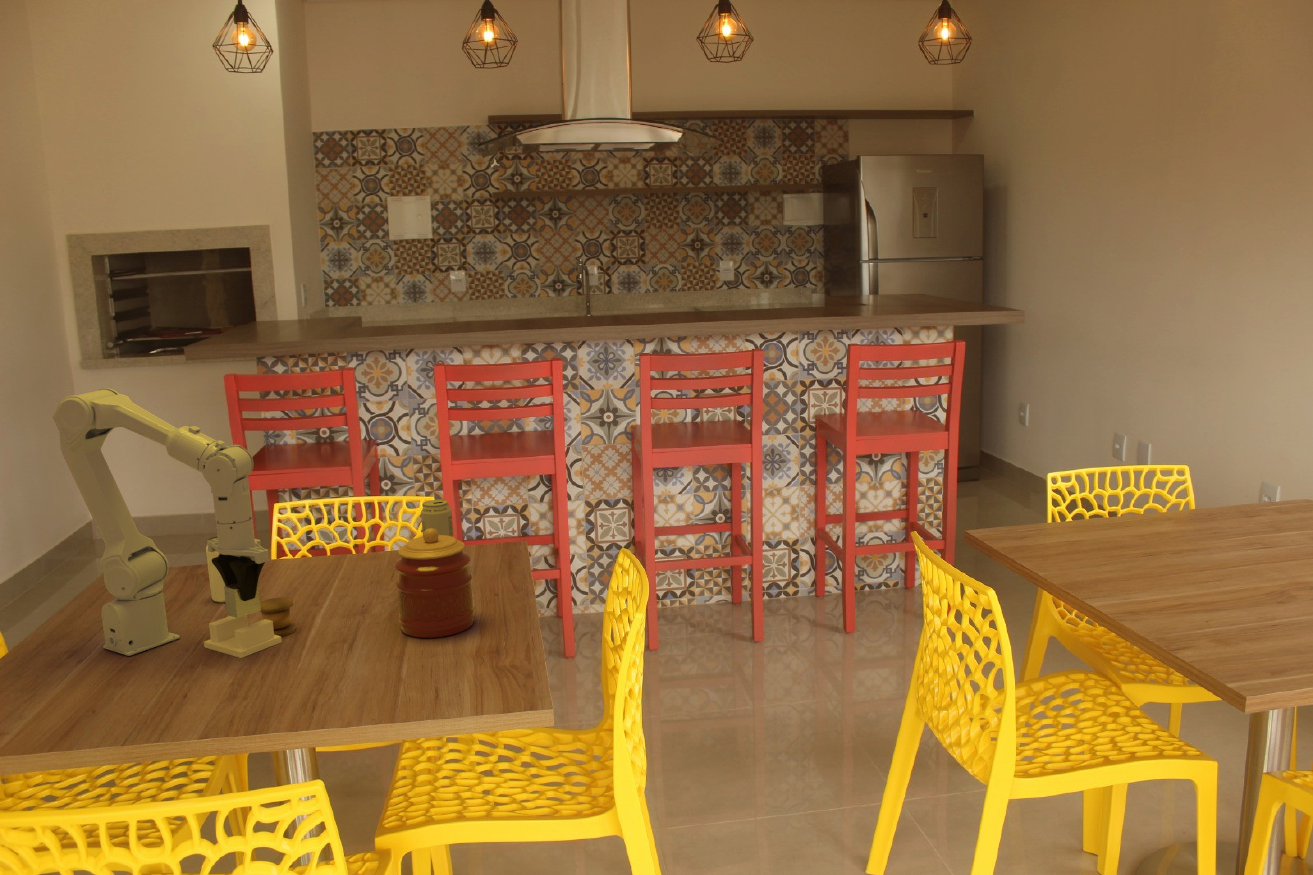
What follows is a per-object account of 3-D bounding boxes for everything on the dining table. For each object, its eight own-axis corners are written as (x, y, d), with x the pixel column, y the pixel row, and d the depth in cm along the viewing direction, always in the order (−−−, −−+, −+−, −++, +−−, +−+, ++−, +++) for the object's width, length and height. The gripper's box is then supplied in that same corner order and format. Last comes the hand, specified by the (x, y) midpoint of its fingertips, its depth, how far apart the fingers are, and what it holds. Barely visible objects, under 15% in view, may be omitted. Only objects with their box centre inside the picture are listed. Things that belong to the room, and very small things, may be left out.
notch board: (240, 658, 173) (238, 635, 173) (204, 647, 179) (201, 624, 178) (281, 642, 180) (279, 619, 179) (245, 632, 185) (242, 610, 185)
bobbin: (274, 640, 181) (271, 611, 180) (252, 634, 184) (249, 605, 183) (303, 628, 186) (300, 600, 185) (281, 623, 189) (278, 595, 188)
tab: (260, 610, 179) (258, 582, 179) (237, 618, 176) (234, 589, 175) (250, 607, 181) (248, 579, 180) (226, 615, 178) (224, 586, 177)
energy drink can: (424, 571, 216) (419, 500, 214) (454, 568, 218) (449, 497, 215) (427, 580, 211) (421, 507, 208) (457, 576, 212) (452, 504, 210)
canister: (401, 643, 177) (392, 542, 174) (398, 618, 189) (390, 523, 186) (479, 633, 180) (471, 534, 177) (471, 609, 193) (464, 515, 190)
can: (223, 605, 200) (216, 544, 198) (205, 599, 204) (198, 539, 202) (254, 595, 205) (247, 536, 203) (235, 590, 209) (229, 531, 207)
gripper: (281, 519, 175) (289, 597, 177) (230, 509, 183) (238, 584, 185) (243, 529, 169) (252, 610, 171) (192, 518, 177) (201, 595, 180)
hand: (242, 597), depth 178 cm, fingers closed on tab, 3 cm apart
